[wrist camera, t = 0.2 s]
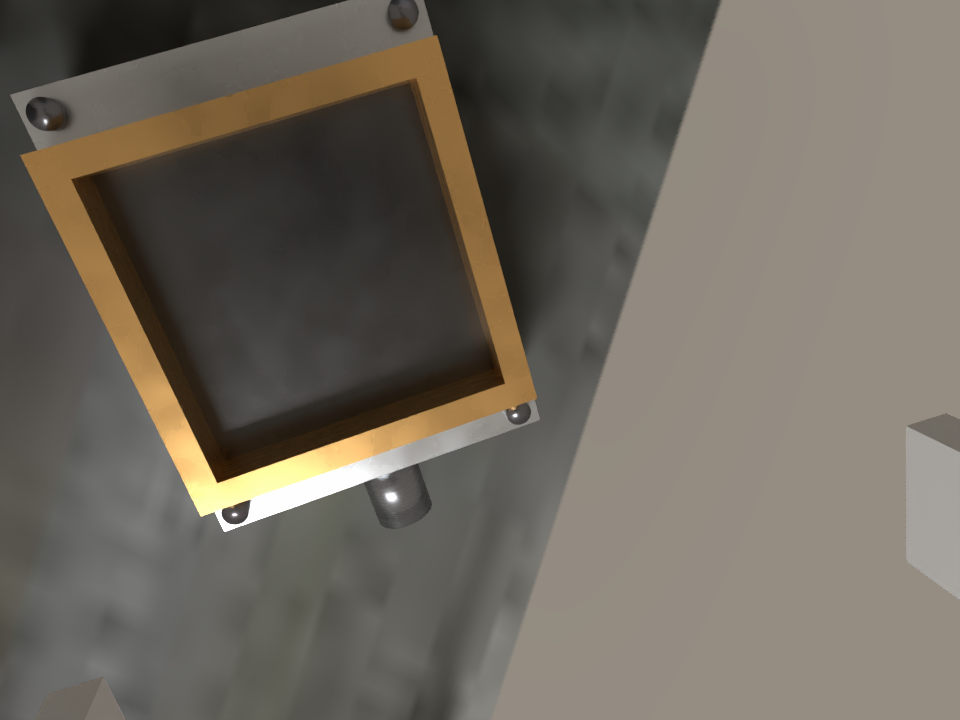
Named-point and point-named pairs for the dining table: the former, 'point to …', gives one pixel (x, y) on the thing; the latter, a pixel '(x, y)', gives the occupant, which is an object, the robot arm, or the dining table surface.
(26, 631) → the dining table surface
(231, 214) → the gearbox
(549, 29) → the dining table surface
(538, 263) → the dining table surface
